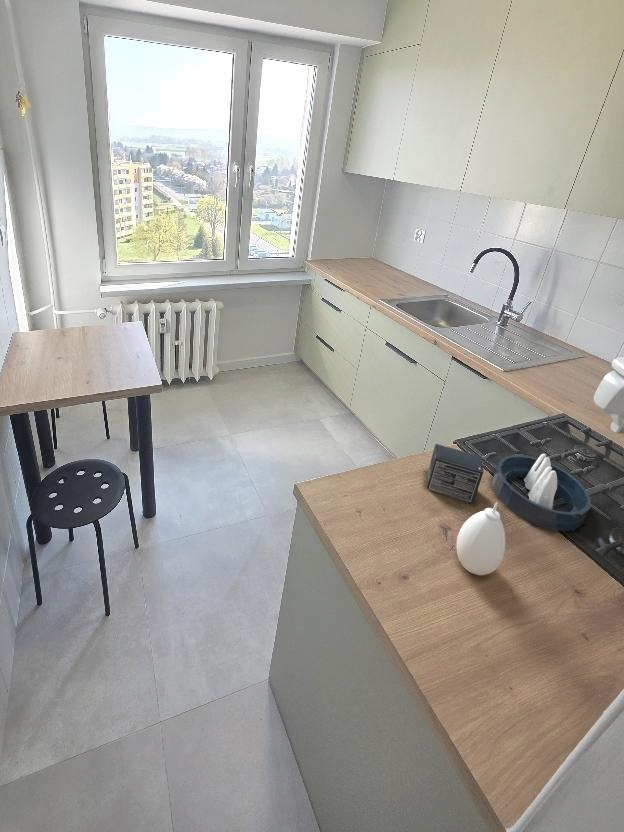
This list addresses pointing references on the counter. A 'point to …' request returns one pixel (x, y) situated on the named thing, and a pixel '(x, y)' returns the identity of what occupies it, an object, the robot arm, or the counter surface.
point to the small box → (455, 473)
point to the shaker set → (542, 482)
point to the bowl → (532, 511)
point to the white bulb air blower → (481, 542)
